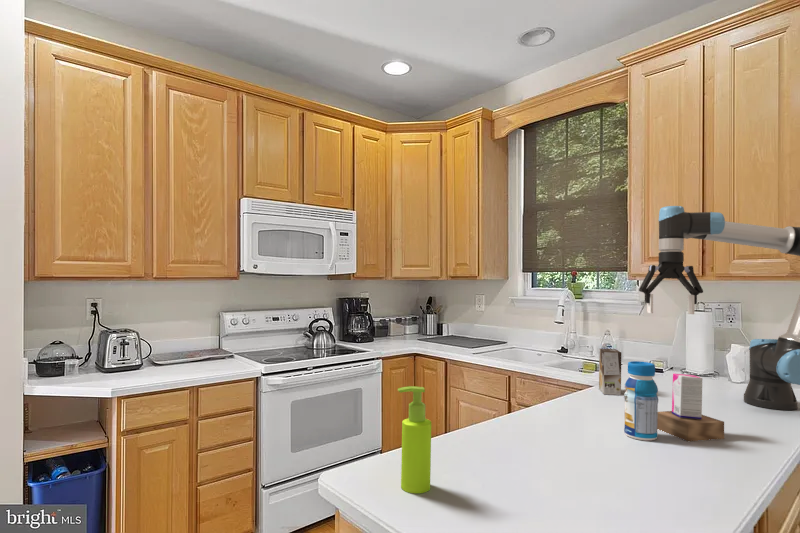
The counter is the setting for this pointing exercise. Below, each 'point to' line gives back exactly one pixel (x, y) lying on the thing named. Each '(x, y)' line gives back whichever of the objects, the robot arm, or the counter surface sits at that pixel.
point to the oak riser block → (690, 427)
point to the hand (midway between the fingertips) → (670, 313)
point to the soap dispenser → (416, 445)
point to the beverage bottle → (641, 402)
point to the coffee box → (610, 371)
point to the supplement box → (687, 396)
